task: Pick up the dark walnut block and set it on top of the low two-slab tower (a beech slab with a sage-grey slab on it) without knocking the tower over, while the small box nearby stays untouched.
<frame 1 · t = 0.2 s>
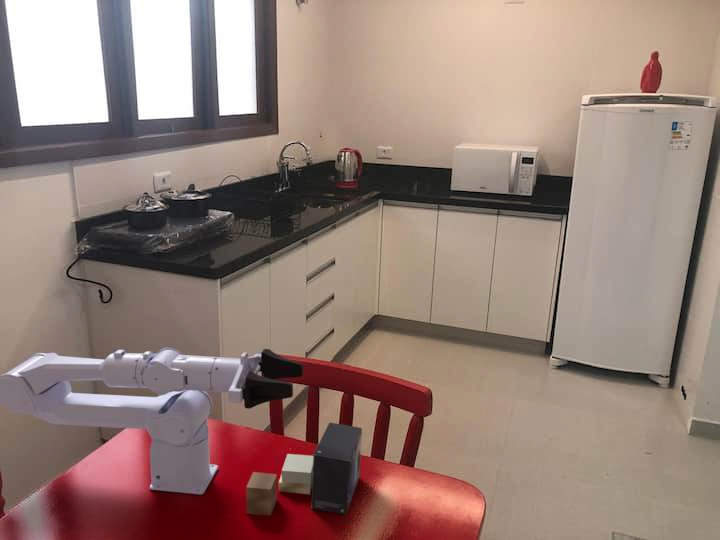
hand: (297, 379, 93), 21 cm above the table, tool horizontal, fingers open, 7 cm apart
tower base: (297, 484, 101), on the table, touching tower top
small box: (336, 494, 99), on the table
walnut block: (262, 506, 95), on the table
tower top: (298, 474, 101), point 2 cm above the table, touching tower base
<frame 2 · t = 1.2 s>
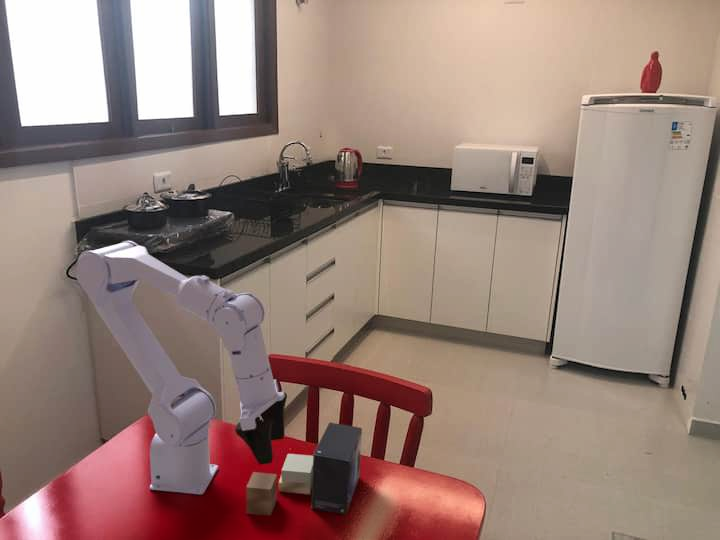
hand: (272, 450, 92), 10 cm above the table, tool pointing down, fingers open, 7 cm apart
nothing on the table moved.
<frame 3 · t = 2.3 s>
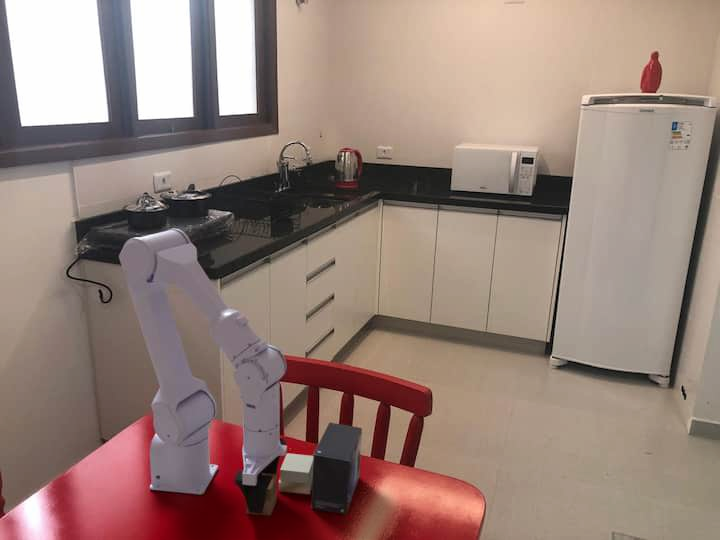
hand: (262, 495, 94), 2 cm above the table, tool pointing down, fingers open, 7 cm apart
nothing on the table moved.
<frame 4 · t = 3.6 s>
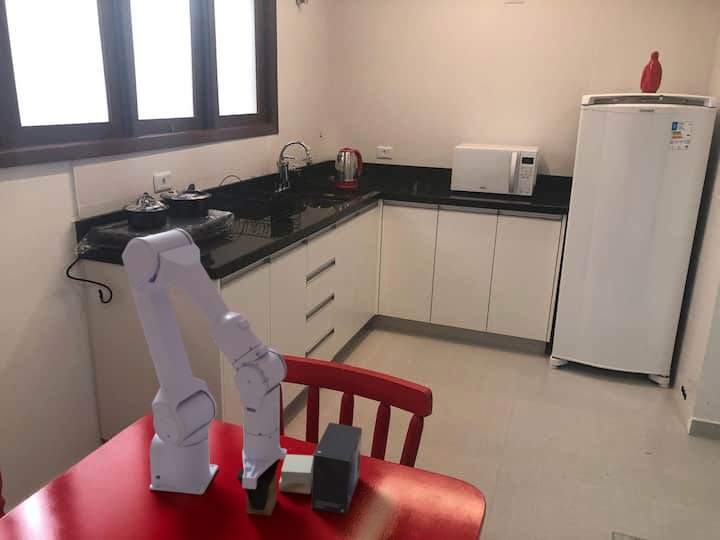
hand: (262, 498, 94), 1 cm above the table, tool pointing down, fingers closed on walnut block, 4 cm apart
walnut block: (262, 506, 95), on the table, touching gripper
everything else where it was.
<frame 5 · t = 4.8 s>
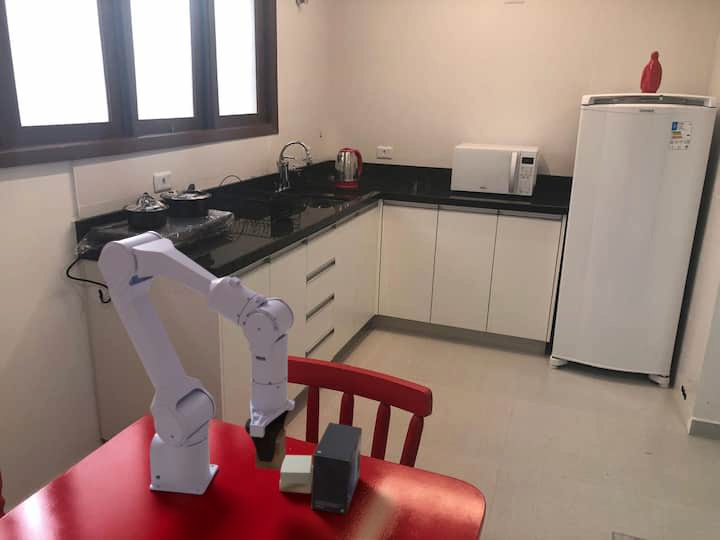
hand: (269, 452, 94), 9 cm above the table, tool pointing down, fingers closed on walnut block, 4 cm apart
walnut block: (270, 461, 94), point 8 cm above the table, touching gripper
everything else where it was.
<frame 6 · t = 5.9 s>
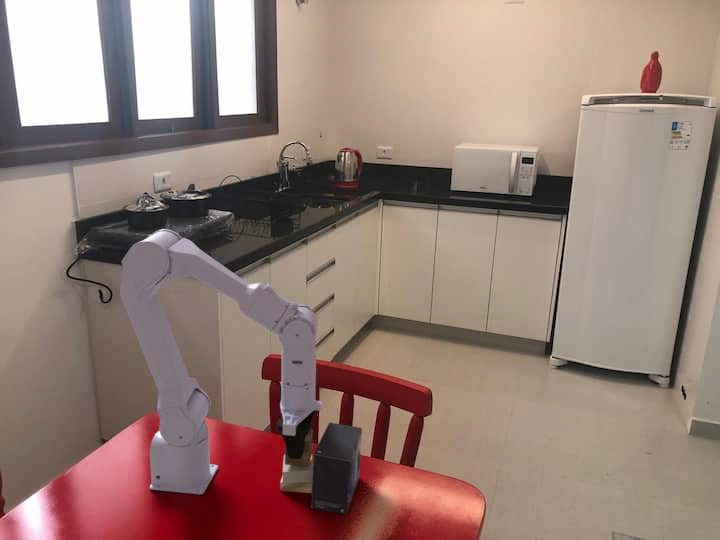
hand: (297, 449, 99), 7 cm above the table, tool pointing down, fingers closed on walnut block, 4 cm apart
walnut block: (298, 458, 100), point 5 cm above the table, touching gripper
everything else where it was.
when the fingers open (7 cm above the table, at t = 6.6 s): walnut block stays where it is, resting on tower top.
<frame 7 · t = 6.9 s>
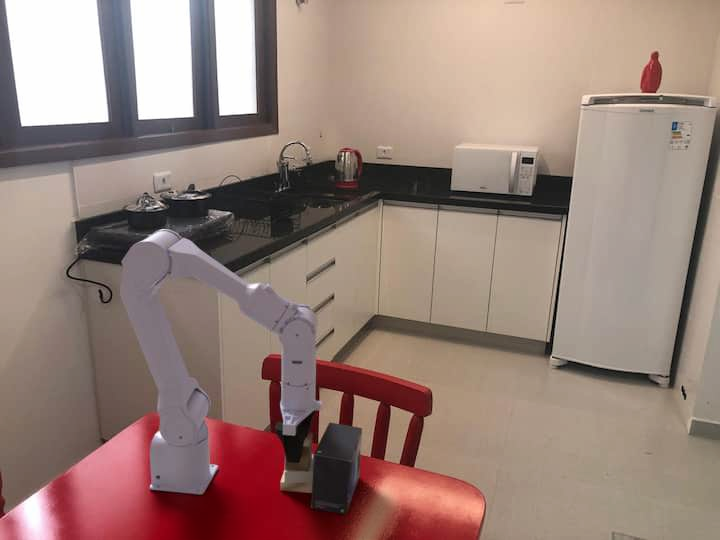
hand: (297, 449, 99), 7 cm above the table, tool pointing down, fingers open, 6 cm apart
tower base: (298, 484, 102), on the table
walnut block: (298, 463, 100), point 4 cm above the table, touching tower top
tower top: (299, 473, 101), point 2 cm above the table, touching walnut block
everything else where it was.
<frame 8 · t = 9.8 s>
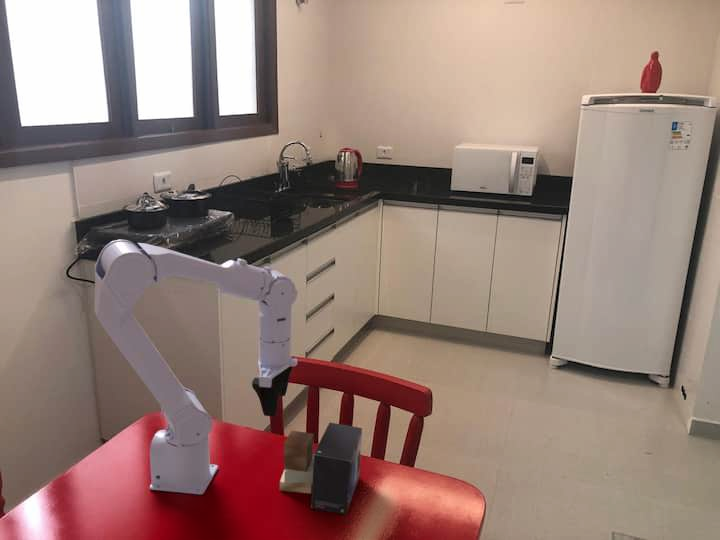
hand: (275, 404, 107), 10 cm above the table, tool pointing down, fingers open, 7 cm apart
tower base: (298, 484, 101), on the table, touching tower top
tower top: (299, 473, 101), point 2 cm above the table, touching tower base, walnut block
everything else where it was.
at the end: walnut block 0.2 cm off-centre on the tower base, point 4.4 cm above the tower base's base; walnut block tilted 1°; tower top 0.1 cm off-centre on the tower base, point 2.2 cm above the tower base's base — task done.
